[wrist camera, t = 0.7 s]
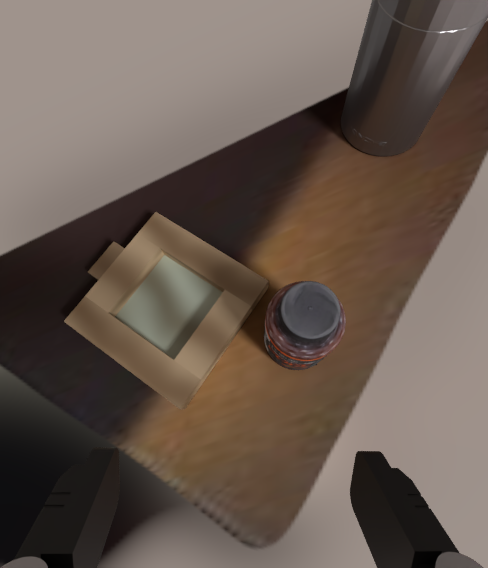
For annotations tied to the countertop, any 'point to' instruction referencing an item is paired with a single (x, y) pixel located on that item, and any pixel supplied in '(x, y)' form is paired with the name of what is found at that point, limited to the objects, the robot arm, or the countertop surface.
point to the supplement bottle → (303, 324)
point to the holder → (167, 307)
